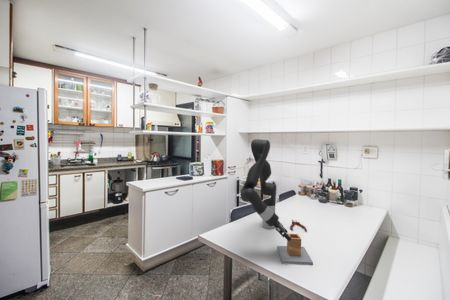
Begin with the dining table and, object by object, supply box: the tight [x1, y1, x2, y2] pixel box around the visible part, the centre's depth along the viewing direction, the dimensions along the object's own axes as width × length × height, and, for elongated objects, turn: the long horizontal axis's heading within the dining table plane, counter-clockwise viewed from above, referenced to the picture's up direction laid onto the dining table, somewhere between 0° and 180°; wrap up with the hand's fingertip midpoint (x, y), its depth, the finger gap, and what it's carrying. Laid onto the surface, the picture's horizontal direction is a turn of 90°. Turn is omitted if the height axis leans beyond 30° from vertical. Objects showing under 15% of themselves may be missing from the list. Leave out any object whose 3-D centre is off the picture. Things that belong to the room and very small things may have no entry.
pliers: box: [289, 219, 308, 233], centre depth 163 cm, size 12×20×3 cm, turn 172°
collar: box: [286, 233, 302, 257], centre depth 120 cm, size 6×6×10 cm
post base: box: [276, 245, 314, 266], centre depth 120 cm, size 16×16×8 cm
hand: (288, 236), depth 120 cm, fingers open, 8 cm apart
